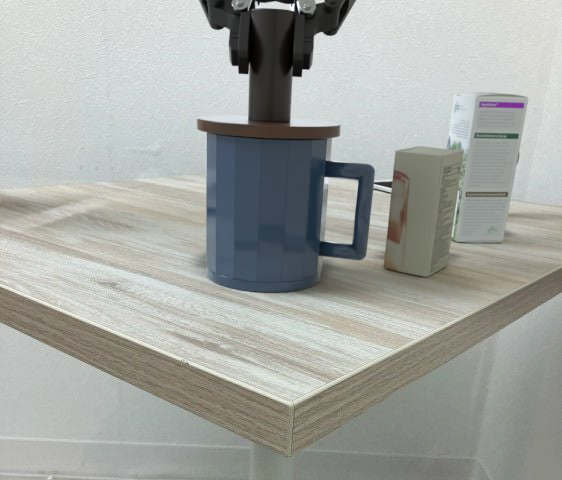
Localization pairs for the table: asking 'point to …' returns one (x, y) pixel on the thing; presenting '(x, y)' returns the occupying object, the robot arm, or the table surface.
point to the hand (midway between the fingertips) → (270, 65)
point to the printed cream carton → (422, 209)
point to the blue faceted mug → (276, 211)
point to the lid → (270, 86)
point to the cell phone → (383, 185)
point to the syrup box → (485, 161)
